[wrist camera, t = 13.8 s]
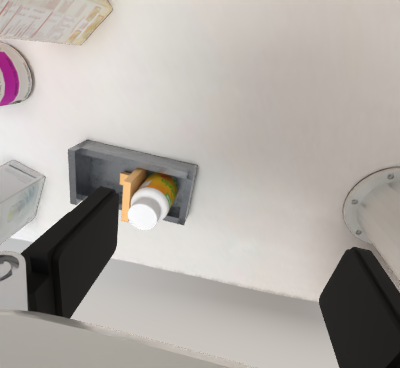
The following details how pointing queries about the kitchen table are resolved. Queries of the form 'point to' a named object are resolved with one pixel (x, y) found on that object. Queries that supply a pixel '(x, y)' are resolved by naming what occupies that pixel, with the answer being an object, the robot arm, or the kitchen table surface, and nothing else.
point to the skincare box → (18, 197)
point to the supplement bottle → (152, 200)
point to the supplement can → (13, 76)
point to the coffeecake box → (51, 19)
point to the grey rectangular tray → (127, 162)
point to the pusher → (130, 188)
